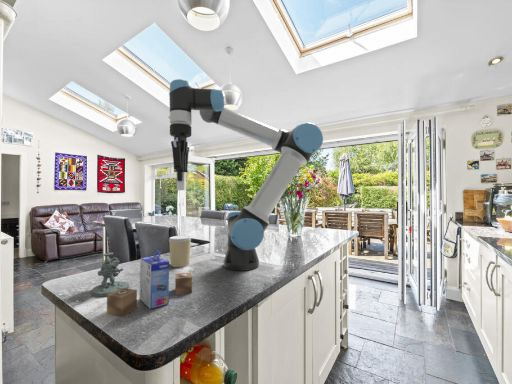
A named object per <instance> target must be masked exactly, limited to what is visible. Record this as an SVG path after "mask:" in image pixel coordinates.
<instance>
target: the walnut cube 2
mask: <svg viewBox="0 0 512 384" xmlns="http://www.w3.org/2000/svg"><path fill="white" fill-rule="evenodd" d="M174 277H175V278H174V279H175V280H174V281H175V284H174V285H175V289H174V291H175V294H174V295H176V296H178V295H185V294H192V293H193V274H192V272H190V271H189V272H182V273H179V272H178V273H175V275H174Z"/></svg>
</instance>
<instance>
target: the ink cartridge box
mask: <svg viewBox="0 0 512 384" xmlns="http://www.w3.org/2000/svg"><path fill="white" fill-rule="evenodd" d="M157 254H158V255H157ZM161 256H162V251H161V250H159V249H157V250H155V253H153V255H151V256H146V257H140V259H139V261H140V262H139V263H140V266H139V292H138V293H139V294H138V295H139V297H138V298H139V299H140V300H141V301H142V302H143V303H144V305H146V307H148V309H154V308H158V307H162V306H167V305H169V302H170V301H169V300H170V298H169V297H170V296H169V294H170V293H169V292H170V284H169V283H170V280H169V279H170V261H169V260H168V259H164V258H162V257H161Z"/></svg>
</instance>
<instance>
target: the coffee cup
mask: <svg viewBox="0 0 512 384" xmlns="http://www.w3.org/2000/svg"><path fill="white" fill-rule="evenodd" d="M191 242H192V237H191V236H190V235H174V236H171V237H169V239H168V243H169V255H170V257H169V258H170V265H171V267H173V268H182V267H183V268H184V267H187V266H189V265H190V261H191V260H190V259H191V248H192V247H191Z"/></svg>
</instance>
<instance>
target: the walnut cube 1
mask: <svg viewBox="0 0 512 384" xmlns="http://www.w3.org/2000/svg"><path fill="white" fill-rule="evenodd" d="M137 308H138V289H131V288H128V289H125V288H121V289H119V290H117V291H115V292H113V293H110V294H108V295H107V296H106V314H107V315H111V316H118V317H124V316H126V315H127V314H129V313H131V312H133V311H134V310H136V309H137Z"/></svg>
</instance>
